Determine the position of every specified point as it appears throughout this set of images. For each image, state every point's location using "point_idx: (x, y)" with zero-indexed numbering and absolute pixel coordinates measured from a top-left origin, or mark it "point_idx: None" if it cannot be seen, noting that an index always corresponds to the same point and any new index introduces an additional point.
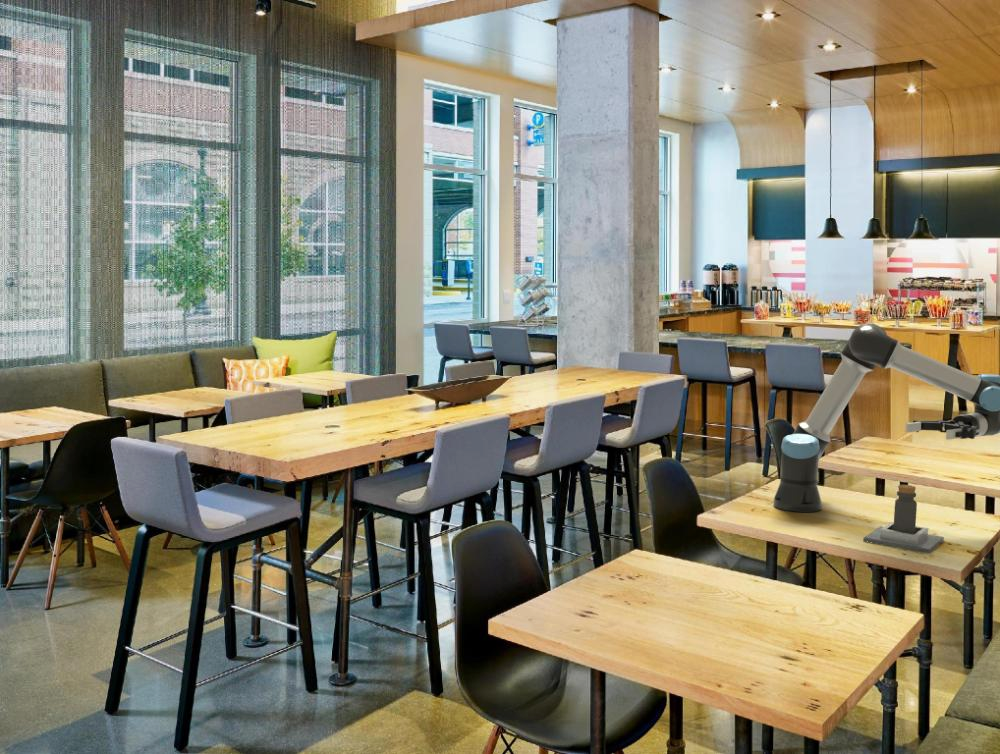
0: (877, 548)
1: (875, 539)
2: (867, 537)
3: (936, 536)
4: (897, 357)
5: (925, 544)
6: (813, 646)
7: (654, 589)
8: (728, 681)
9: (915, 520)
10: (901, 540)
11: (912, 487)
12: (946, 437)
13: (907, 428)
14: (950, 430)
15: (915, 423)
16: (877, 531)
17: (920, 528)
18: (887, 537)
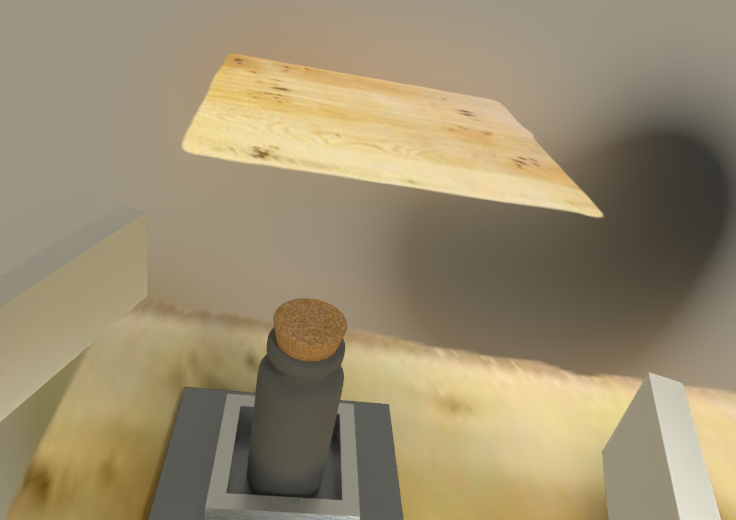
0: None
1: (352, 401)
2: (379, 408)
3: None
4: None
5: (201, 425)
6: (270, 99)
7: (473, 147)
8: (303, 71)
9: (252, 420)
10: None
11: (285, 312)
12: (142, 278)
13: (626, 417)
14: (100, 217)
15: (671, 507)
16: (385, 491)
17: (235, 495)
18: None
